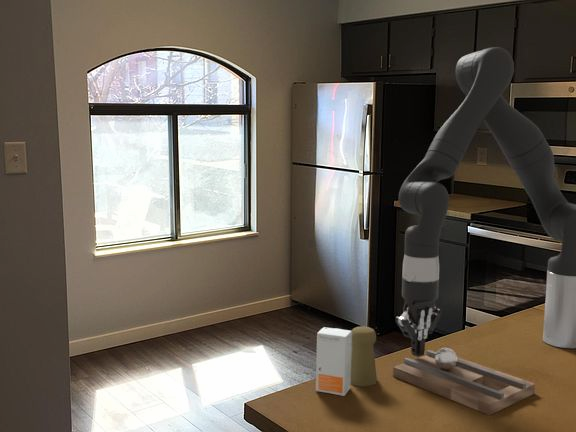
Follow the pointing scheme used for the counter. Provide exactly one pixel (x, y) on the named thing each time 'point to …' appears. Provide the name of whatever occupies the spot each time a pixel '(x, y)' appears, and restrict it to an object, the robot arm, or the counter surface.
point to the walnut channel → (465, 383)
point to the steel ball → (446, 358)
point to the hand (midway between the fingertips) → (417, 355)
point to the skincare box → (333, 361)
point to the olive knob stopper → (363, 357)
